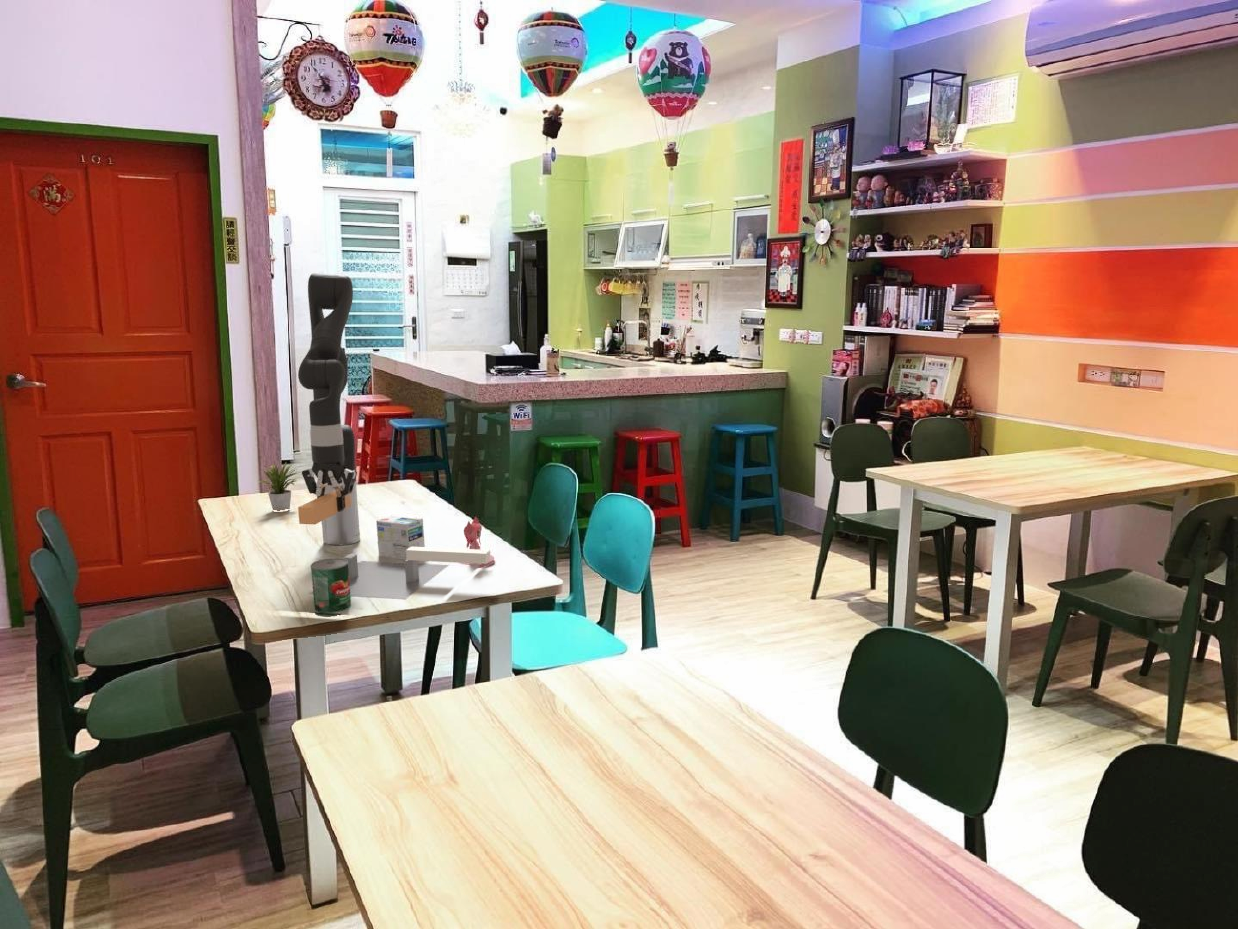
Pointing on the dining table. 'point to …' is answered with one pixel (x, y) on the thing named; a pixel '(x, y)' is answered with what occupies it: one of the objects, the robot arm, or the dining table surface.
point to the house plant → (279, 487)
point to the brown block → (320, 508)
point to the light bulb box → (399, 535)
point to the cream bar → (448, 555)
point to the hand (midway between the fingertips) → (332, 510)
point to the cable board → (388, 577)
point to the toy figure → (471, 535)
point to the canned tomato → (330, 586)
